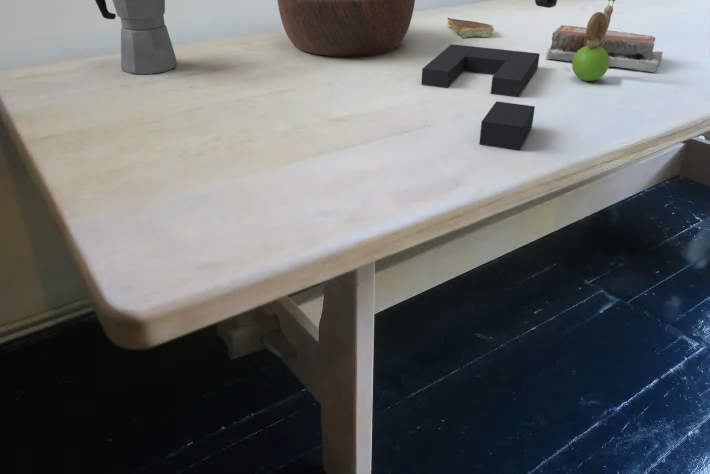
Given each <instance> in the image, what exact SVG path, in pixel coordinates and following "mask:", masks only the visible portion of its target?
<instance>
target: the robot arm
mask: <svg viewBox="0 0 710 474" xmlns="http://www.w3.org/2000/svg"><path fill="white" fill-rule="evenodd" d="M534 4H535V5H536V6H538V7H543V8H549V9H550V8H554V7H556V6H557V4H558V0H534Z"/></svg>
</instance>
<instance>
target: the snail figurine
mask: <svg viewBox="0 0 710 474" xmlns="http://www.w3.org/2000/svg"><path fill="white" fill-rule="evenodd" d="M607 1H608V5H606V6H605V7H604V9H603V12H601V11H597V12H595V13H593V14H592V16H590V18H589V20H588V22H587V24H586V27H585V28H586V37H587V39H588V41H587V42H586V44H587V46H585V47H583V48H581V49H580V50H579V51H578V52H577V53H576V54H575V56H574V58H573V62H571V66H572V71H573V73H574V74H575V76H576V77H577V78H578V79H580V80H583V81H585V82H593V81H597V80H599V79H600V78H602V77H603V76H604V75H605V74H606V73H607V71H608V69H609V68H610V66H609V56H608V54H607V52H606V51H605V50H604V49H603V48H602V47H600V46H598V45H599V44H600V43H601V41H602V40H603V39H604V37H605V35H606V32H607V30H609V26H610V23H611V18H612V14H613V12H614V3H615V2H616V0H607ZM611 1H612V5H610V2H611Z"/></svg>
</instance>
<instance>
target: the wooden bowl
mask: <svg viewBox="0 0 710 474" xmlns="http://www.w3.org/2000/svg"><path fill="white" fill-rule="evenodd" d="M276 1H277V7H278V11H279V17H280V19H281V24H282V26H283V29H284V32H285V33H286V36H287V37H288V39H289V40H290V43H292V45H293V46H295V48H297V49H298V50H299V51H300V50H301V51H303V52H306V53H310V54H314V55H320V56H326V57H327V56H330V57H365V56H372V55H378V54H383V53H386V52H387V53H388V52H390V51H392V50H394V49H396V48H397V47H398V46H400V44H401V43H402V42H403V40H404V39H405V37H406V35H407V33H408V31H409V28H410V25H411V22H412V18H413V14H414V9H415V4H416V3H415V2H416V0H276Z"/></svg>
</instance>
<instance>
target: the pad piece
mask: <svg viewBox="0 0 710 474" xmlns="http://www.w3.org/2000/svg"><path fill="white" fill-rule="evenodd" d="M535 108H536V106H535V105H527V104H519V103H513V102H506V101H499V100H498V101H495V102H494V104H493V105H492V106H491V108H490V109H489V111H488V112H487V113H486V115H485V116H484V117H483V119H482V120H481V125H480V133H479V143H478V144H479V145H482V146H488V147H496V148H502V149H508V150H515V151H521V149H522V147H523V146H524V143H525V142H526V140H527V138H528V137H529V135H530V132H531V130H532V128H533V123H534V115H535V110H536V109H535Z"/></svg>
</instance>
